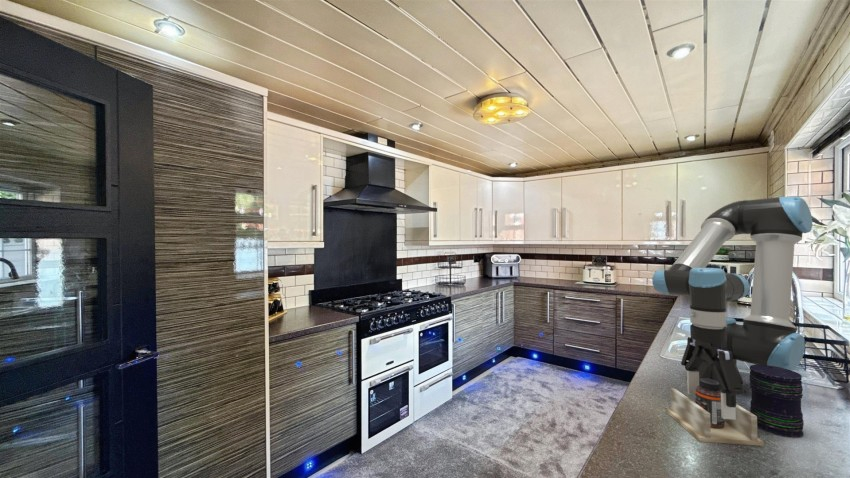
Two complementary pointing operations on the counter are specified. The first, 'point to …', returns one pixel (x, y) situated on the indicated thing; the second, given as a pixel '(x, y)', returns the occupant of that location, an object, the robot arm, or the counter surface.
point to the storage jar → (777, 400)
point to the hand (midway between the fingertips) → (709, 405)
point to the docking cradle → (699, 422)
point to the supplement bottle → (710, 401)
